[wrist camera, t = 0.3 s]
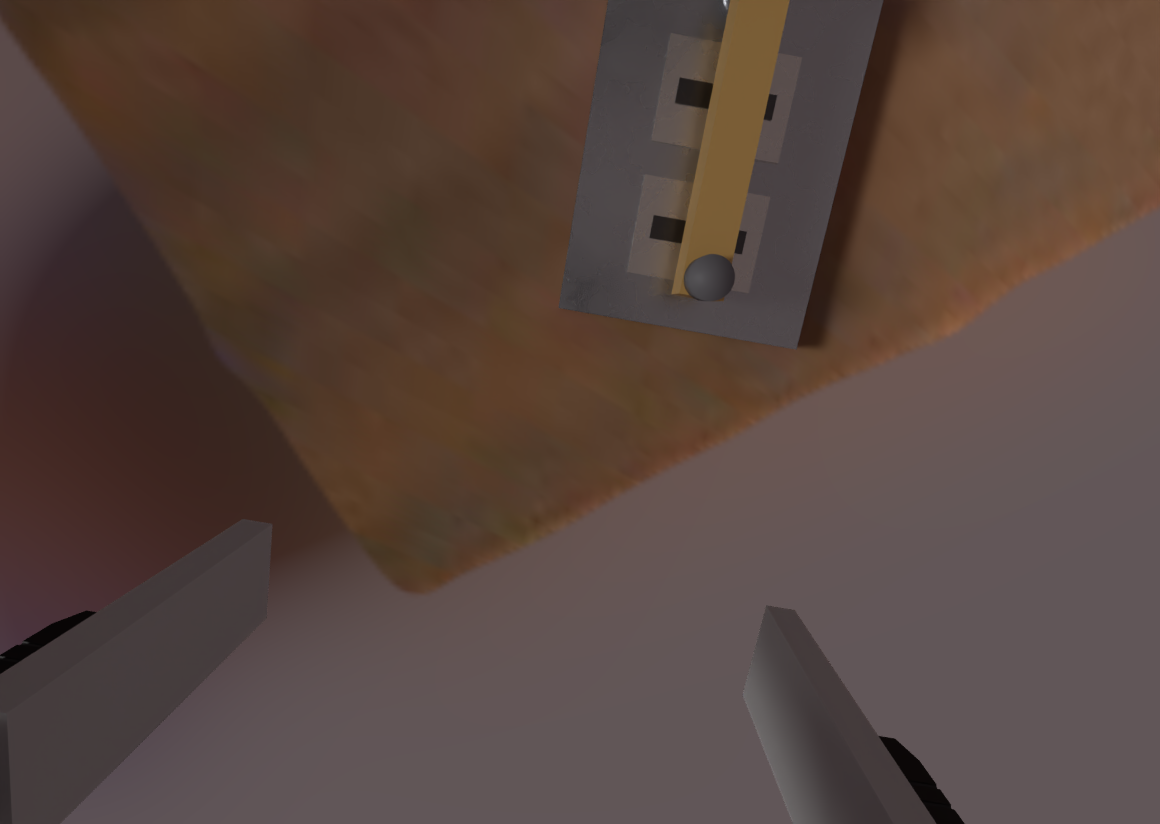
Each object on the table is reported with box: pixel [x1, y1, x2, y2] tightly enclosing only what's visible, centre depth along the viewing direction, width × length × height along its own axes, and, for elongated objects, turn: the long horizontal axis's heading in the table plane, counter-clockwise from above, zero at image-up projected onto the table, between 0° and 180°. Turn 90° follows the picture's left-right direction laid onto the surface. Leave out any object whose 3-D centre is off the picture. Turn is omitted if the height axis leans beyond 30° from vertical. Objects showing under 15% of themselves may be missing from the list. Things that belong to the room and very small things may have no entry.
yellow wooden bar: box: [671, 0, 790, 301], centre depth 29 cm, size 20×4×5 cm, turn 170°
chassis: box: [559, 0, 883, 349], centre depth 34 cm, size 22×16×5 cm
